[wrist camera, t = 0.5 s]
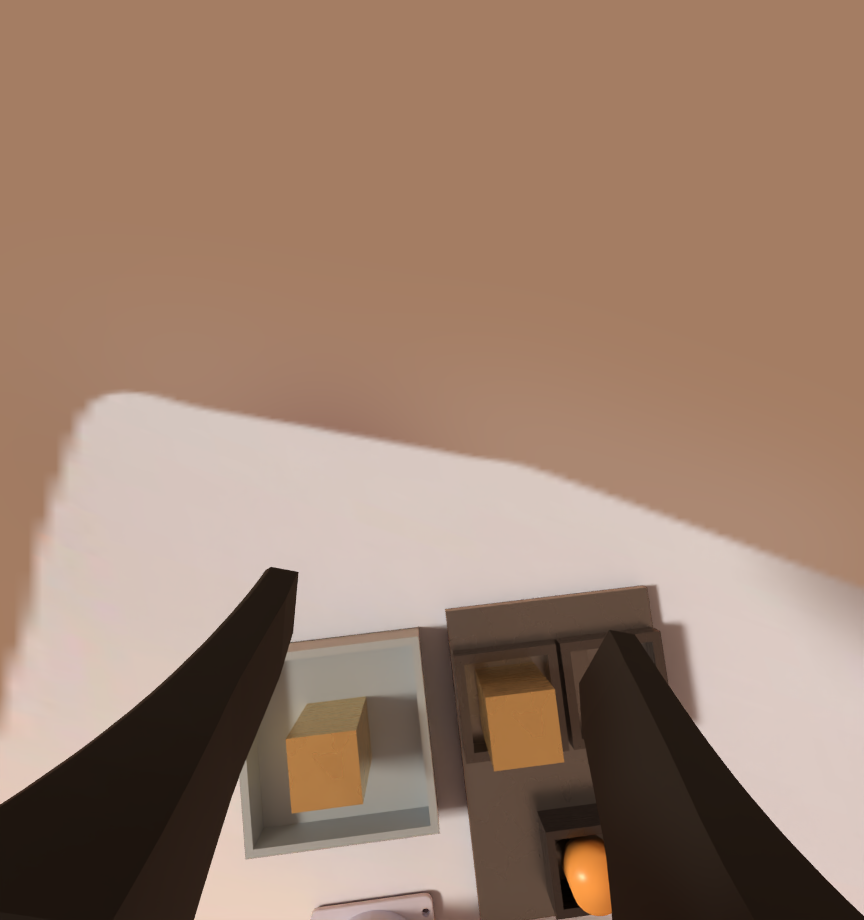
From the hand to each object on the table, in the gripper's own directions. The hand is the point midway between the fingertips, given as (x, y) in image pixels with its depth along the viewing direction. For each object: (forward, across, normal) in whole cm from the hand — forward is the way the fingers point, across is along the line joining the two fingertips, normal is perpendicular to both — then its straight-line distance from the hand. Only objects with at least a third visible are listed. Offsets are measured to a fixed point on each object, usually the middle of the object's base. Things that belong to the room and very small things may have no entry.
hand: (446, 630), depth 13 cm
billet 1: (+12, +2, +26) cm, 29 cm away
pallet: (+13, -13, +25) cm, 31 cm away
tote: (+13, +2, +26) cm, 30 cm away
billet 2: (+14, -8, +22) cm, 28 cm away
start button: (+8, -15, +28) cm, 32 cm away
